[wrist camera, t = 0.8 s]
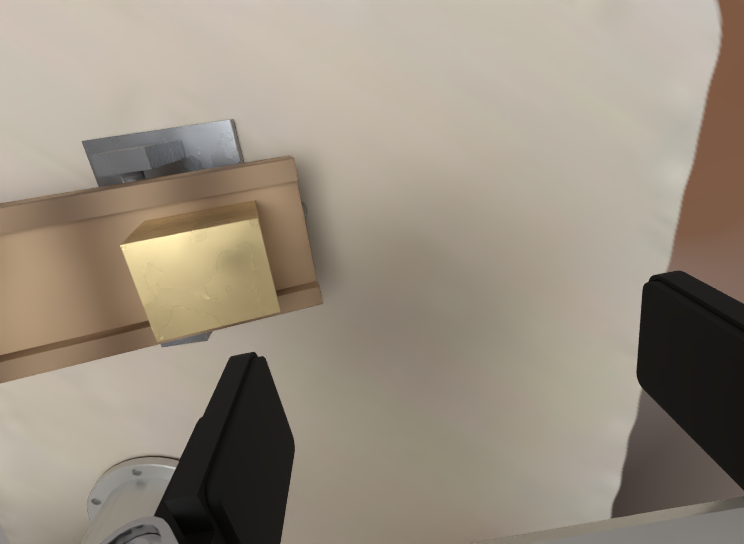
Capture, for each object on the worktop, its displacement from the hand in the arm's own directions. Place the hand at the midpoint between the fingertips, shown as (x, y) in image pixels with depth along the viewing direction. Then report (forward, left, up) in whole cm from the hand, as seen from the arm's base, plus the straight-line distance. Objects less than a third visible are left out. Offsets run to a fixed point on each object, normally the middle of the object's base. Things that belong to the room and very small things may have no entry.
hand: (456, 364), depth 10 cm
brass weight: (-1, +11, -15) cm, 19 cm away
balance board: (-1, +16, -15) cm, 22 cm away
